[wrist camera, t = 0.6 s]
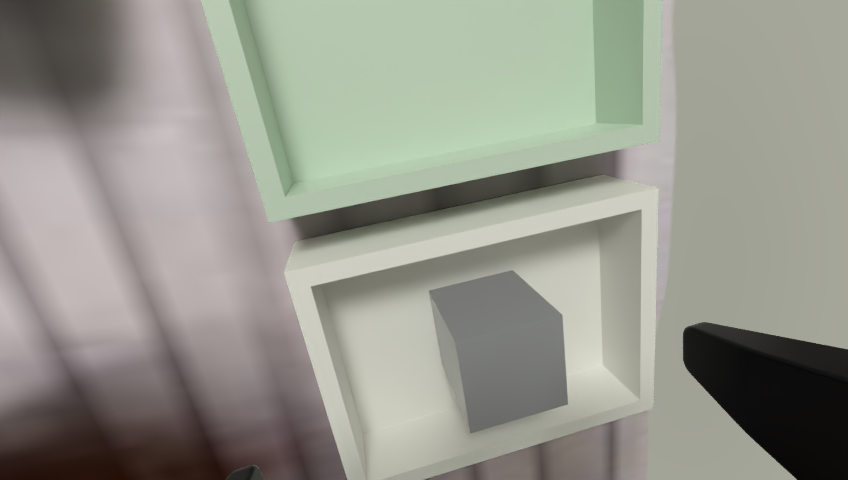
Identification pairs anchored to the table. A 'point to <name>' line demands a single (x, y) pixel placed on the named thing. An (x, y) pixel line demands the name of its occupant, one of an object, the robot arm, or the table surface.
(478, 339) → the stone block
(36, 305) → the table surface
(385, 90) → the green bin
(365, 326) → the cream bin
